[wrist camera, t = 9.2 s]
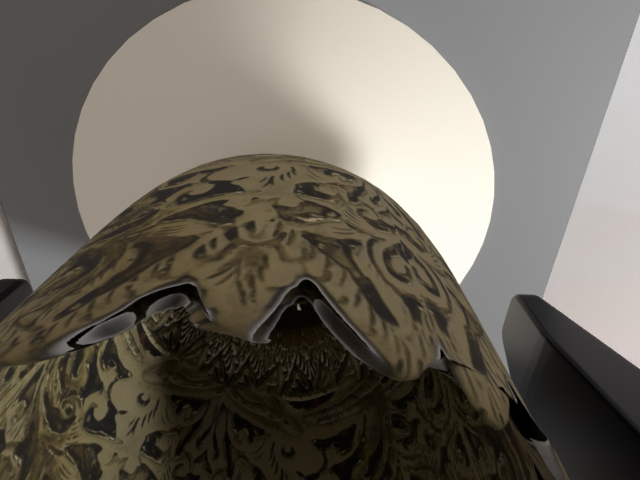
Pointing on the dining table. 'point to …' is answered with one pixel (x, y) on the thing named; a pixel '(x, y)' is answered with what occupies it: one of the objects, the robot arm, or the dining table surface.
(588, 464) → the robot arm
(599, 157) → the dining table surface
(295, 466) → the cup
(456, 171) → the carrier plate
